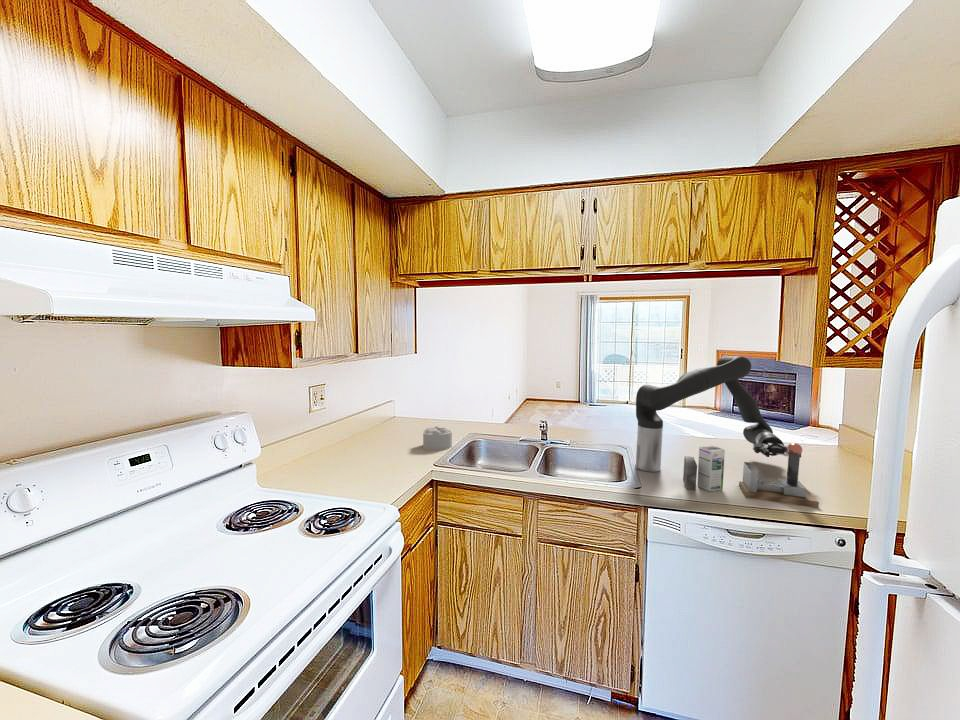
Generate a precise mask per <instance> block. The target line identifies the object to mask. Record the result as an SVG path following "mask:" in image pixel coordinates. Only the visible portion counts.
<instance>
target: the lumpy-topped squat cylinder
mask: <svg viewBox="0 0 960 720" xmlns="http://www.w3.org/2000/svg"><path fill="white" fill-rule="evenodd" d="M422 438H423V439H422V440H423V441H422V442H423V443H422V445H423V447H422V448H423V450H426V451H445V450H448V449H451V448H452V447H453V431H452V430H451V429H448V428H446V427H440V426H439V425H437V426H434V427H427V428H426V429H424V430H423V433H422Z"/></svg>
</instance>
